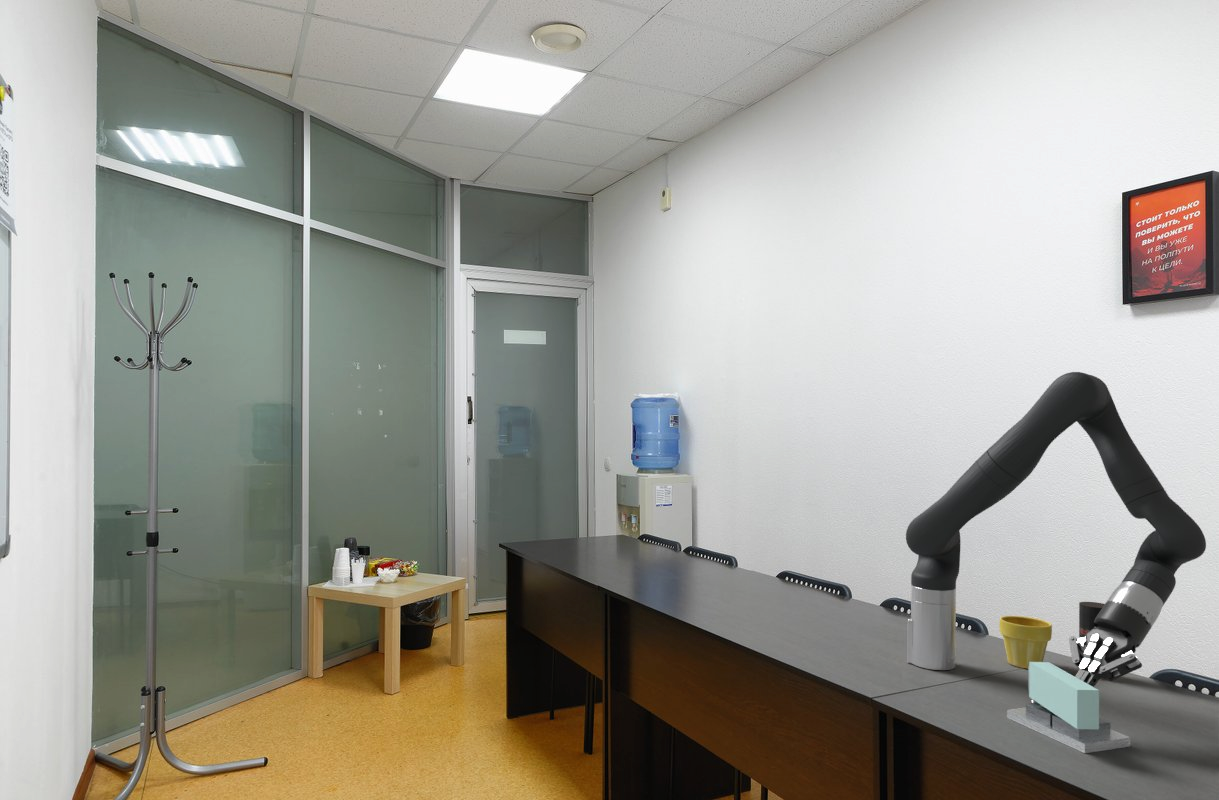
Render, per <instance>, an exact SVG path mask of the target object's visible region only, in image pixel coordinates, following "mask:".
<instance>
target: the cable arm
mask: <svg viewBox="0 0 1219 800" xmlns="http://www.w3.org/2000/svg"><path fill="white" fill-rule="evenodd" d="M1027 695H1028V697H1029V698H1030V699H1031V698H1032V699H1033V700H1035V701H1036V702H1038V703H1039V704H1040V705H1042V706H1043V707H1045V708H1046V709H1048V710H1049V711H1051V712H1052V713H1054V714H1055V715H1057V716H1058V717H1060V718H1061V719H1063V720H1064V721H1066V722H1067V723H1069V724H1070V725H1072V726H1073V727H1075V728H1076V729H1098V730H1099V718H1100V690H1099V689H1097V688H1095V686H1094V687H1092V686H1090V685H1089V684H1087V683H1085V682H1083V681H1082V680H1080V679H1078V678H1076V677H1075V676H1074V675H1072V674H1071V673H1068V671H1065V670H1063V669H1061V668H1060V667H1058V666H1056V665H1055V664H1053V663H1051V662H1049V661H1046V662H1045V661H1043V662H1029V666H1028V669H1027Z"/></svg>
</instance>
